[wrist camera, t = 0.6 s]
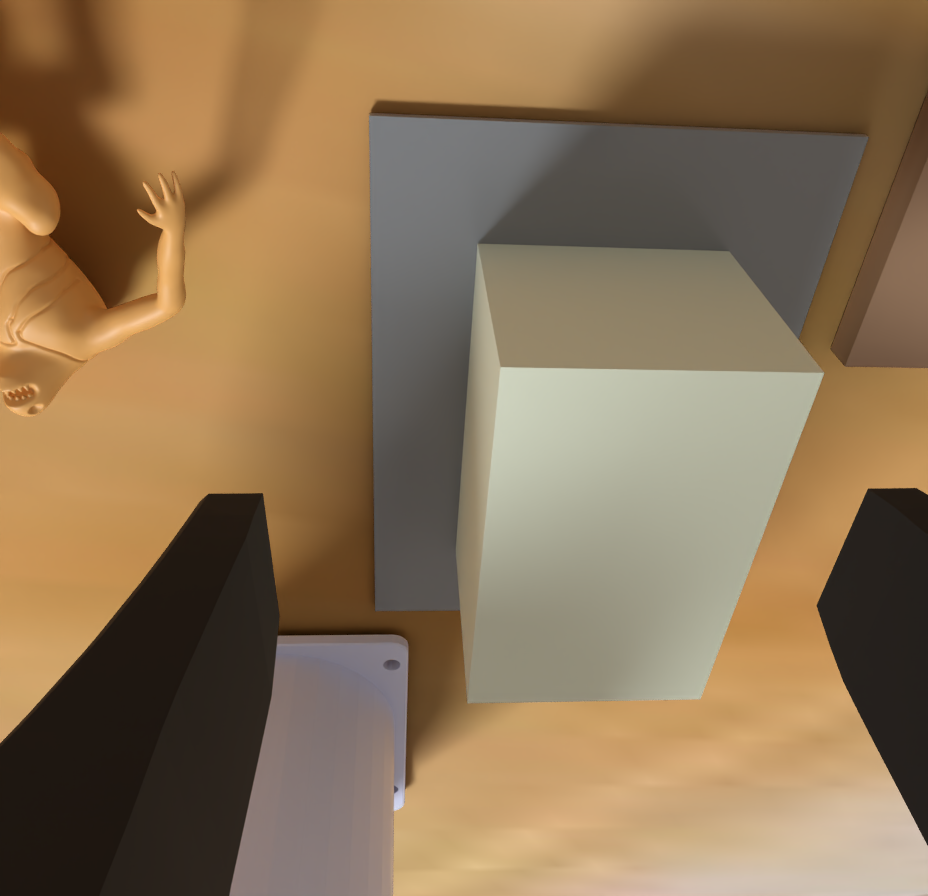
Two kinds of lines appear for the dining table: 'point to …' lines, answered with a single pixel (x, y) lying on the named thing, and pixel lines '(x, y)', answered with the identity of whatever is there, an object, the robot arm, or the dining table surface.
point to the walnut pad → (894, 274)
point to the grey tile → (550, 224)
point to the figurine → (67, 287)
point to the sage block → (616, 466)
